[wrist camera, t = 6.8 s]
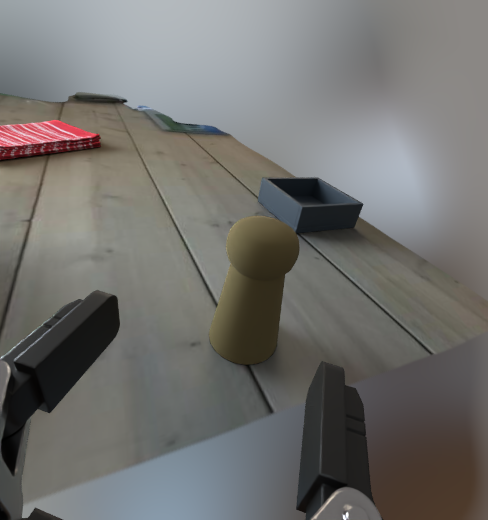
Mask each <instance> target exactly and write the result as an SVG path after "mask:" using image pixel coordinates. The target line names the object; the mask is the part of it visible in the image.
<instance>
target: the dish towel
mask: <svg viewBox="0 0 488 520" xmlns="http://www.w3.org/2000/svg"><path fill="white" fill-rule="evenodd" d="M99 139H101V137H100V136H99V134H93V133H89V132H86V131H84V130H82V129H79V128H77V127H74V126H71V125H68V124H66V123H63V122H61V121H58V120H53V121H47V122H42V123H29V124H18V125H4V126H0V160H3V159H11V158H17V157H27V156H33V155H41V154H48V153H57V152H64V151H72V150H81V149H87V148H95V147H100V146H101V145H100V144H101V143H100V142H99Z"/></svg>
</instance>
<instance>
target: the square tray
mask: <svg viewBox="0 0 488 520" xmlns="http://www.w3.org/2000/svg"><path fill="white" fill-rule="evenodd" d="M258 201H259V202H260V203H261V204H262V205H263V206H264V207H266V208H267V209H268V210H269V211H270V212H271V213H272V214H274V215H275V216H276V217H277V218H278V219H279V220H280V221H282V222H284V223H286V224H287V225H288V226H290V227H291V228H292V229H293V230H294V231H295V232H296V233H305V232H314V231H324V230H334V229H344V228H354V227H355V224H356V222H357V219H358V217H359V214H360V211H361V209H362V206H363V203H361V202H359V201H358V200H356V199H354V198H352V197H351V196H349V195H347V194H345V193H344V192H342V191H340V190H338V189H337V188H335V187H333V186H331V185H330V184H328V183H326V182H325V181H323V180H321V179H319V178H262V181H261V187H260V192H259V197H258Z"/></svg>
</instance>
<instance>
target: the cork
mask: <svg viewBox="0 0 488 520" xmlns="http://www.w3.org/2000/svg"><path fill="white" fill-rule="evenodd" d="M226 250H227V255H228V258H229V261H230V262H231V264H230V267H229V271H228V274H227V277H226V280H225V283H224V286H223V289H222V293H221V296H220V299H219V302H218V305H217V308H216V312H215V315H214V318H213V321H212V324H211V328H210V332H209V338H210V343H211V345H212V346H213V348H214V350H215V351H216V352H217V353H218V354H220V355H221V356H222V357H223V358H225V359H227V360H229V361H231V362H233V363H238V364H244V365H249V364H258V363H260V362H262V361H265V360H267V359H268V358H269V357H270V356H271V355H272V354H273V353H274V351H275V348H276V346H277V338H278V330H279V321H280V313H281V304H282V296H283V287H284V279H285V274H286V273H288V272H289V271H290V270H291V269H292V267H293V266H294V264H295V262H296V260H297V258H298V255H299V240H298V237H297V234H296V232H295V231H294V230H293V229H292V228H291V227H290V226H288V225H287V224H286V223H284V222H282V221H280V220H277V219H274V218H271V217H265V216H250V217H246V218H243V219H240V220H239V221H237V222H236V223H235V224H234V225H233V226H232V228H231V229H230V232H229V234H228V237H227V243H226Z"/></svg>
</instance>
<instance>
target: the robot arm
mask: <svg viewBox="0 0 488 520" xmlns="http://www.w3.org/2000/svg"><path fill="white" fill-rule="evenodd" d="M119 327H120V320H119V309H118V299H117V297H116V296H115V295H111V294H108V293H105V292H102V291H99V290H96V291H94V292H92V293H91V294H90V295H89V296H87V297H86V298H85V299H84V300H81V299H78V300H76V301H74V302H71V303H69V304H67V305H65V306H63V307H62V308H61V309H60V310H59V311H57V312H56V313H55V314H54V315H53V316H52V318H51V317H50V318H49V319H48V320H46V321H45V322H44V323H43V325H42V326H41V325H40V326H39V327H38V328H37V329H35V330H34V331H33V332H32V333H31V334H29V335H28V336H27V337H26V338H24V339H23V340H22V341H21V342H20V343H18V344H17V345H16V346H15V347H13V348H12V349H11V350H10V351H9V352H7V353H6V354H5V355H4V356H2V357H1V358H0V520H62V519H60V518H58V517H56V516H53V515H51V514H49V513H46V512H44V511H42V510H40V509H37V508H35V509H34V511H33V512H32V513H31V515H30V516H29V517H28V518H22V510H23V494H22V474H23V467H24V461H25V455H26V449H27V442H28V436H29V430H30V423H31V418H30V417H31V416H32V415H33V414H34V412H35V411H36V410H37V409H40V410H42V411H45V412H47V413H50V412H51V411H52V410H53V409H54V408H55V407H56V406H57V404H58V403H59V402H60V401H61V400H62V399H63V397H64V396H65V395H66V394H67V393H68V392H69V390H70V389H71V388H72V387H73V386H74V385H75V384H76V382H77V381H78V380H79V379H80V378H81V377H82V375H83V374H84V373H85V372H86V371H87V370H88V368H89V367H90V366H91V365H92V364H93V363H94V362H95V360H96V359H97V358H98V357H99V356H100V355H101V353H102V352H103V351H104V350H105V349H106V348H107V346H108V345H109V344H110V343H111V342H112V341H113V339H114V338H115V337H116V335H117V333H118V330H119ZM364 421H365V419H364V408H363V403H362V401H361V399H360V397H359V394H358V393H357V390H356V388H353V387H350V386H346V385H345V375H344V369H343V368H342V367H339V366H336V365H333V364H329V363H326V362H323V361H322V362H321V363H320V365H319V367H318V370H317V372H316V374H315V376H314V378H313V381H312V383H311V385H310V387H309V390H308V394H307V399H306V406H305V417H304V428H303V441H302V451H301V462H300V473H299V485H298V496H297V507H296V509H297V510H299V511H302V512H304V513H306V520H383V519H382V517H381V516H380V514H379V512H378V510H377V508H376V506H375V503H374V501H373V498H372V493H371V485H370V475H369V463H368V452H367V440H366V437H365V435H366V430H365V423H364Z"/></svg>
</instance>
